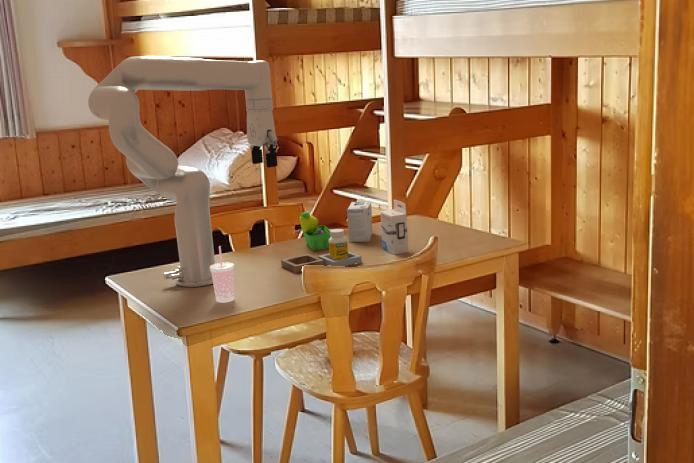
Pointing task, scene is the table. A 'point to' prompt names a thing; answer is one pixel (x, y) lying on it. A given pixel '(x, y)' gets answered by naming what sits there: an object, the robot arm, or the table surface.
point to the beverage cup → (223, 280)
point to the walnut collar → (291, 262)
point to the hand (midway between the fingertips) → (264, 165)
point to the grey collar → (343, 262)
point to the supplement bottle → (338, 245)
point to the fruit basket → (314, 232)
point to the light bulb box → (359, 221)
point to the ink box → (394, 229)
